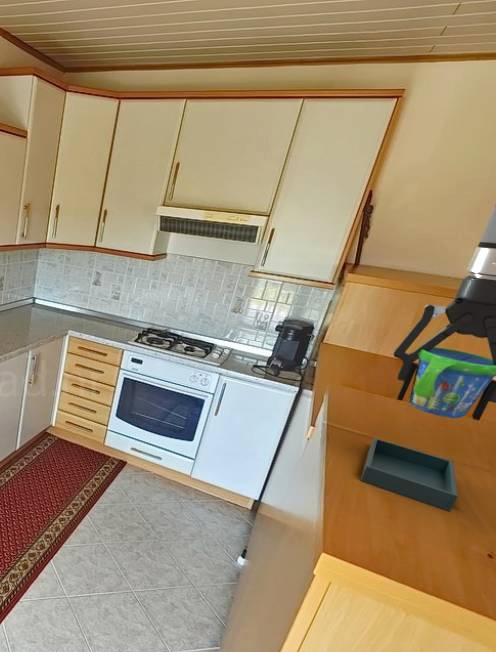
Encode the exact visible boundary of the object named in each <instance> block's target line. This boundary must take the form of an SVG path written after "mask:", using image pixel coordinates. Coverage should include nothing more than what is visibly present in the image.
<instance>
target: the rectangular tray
mask: <svg viewBox="0 0 496 652" xmlns="http://www.w3.org/2000/svg"><path fill="white" fill-rule="evenodd" d="M454 465H455V463H454V461H453V460H450V459H448V458H443V457H440V456H436V455H433V454H430V453H427V452H424V451H420V450H417V449H413V448H410V447H406V446H403V445H400V444H397V443H393V442H389V441H387V440H383V439H379V438H377V437H373V439H372V441H371V444H370V446H369V449H368V451H367V455H366V459H365V462H364V465H363V469H362V473H361V476H360V480H359V481H360V482H363V483H365V484H369V485H371V486H374V487H378V488H380V489H383V490H386V491H389V492H392V493H395V494H397V495H401V496H404V497H406V498H409V499H412V500H415V501H418V502H420V503H424V504H426V505H430V506H433V507H435V508H438V509H441V510H444V511H447V512H450V513H451V510H452V509H453V507H454V505H455V503H456V502H457V499H458V497H459V495H458V489H457V480H456V472H455V466H454Z"/></svg>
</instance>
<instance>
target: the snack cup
mask: <svg viewBox="0 0 496 652" xmlns="http://www.w3.org/2000/svg"><path fill="white" fill-rule="evenodd" d="M418 357H419V359H418V363H417V368H416V370H415V373H414V376H413V377H414V378H413V381H412V386H411V391H410V394H409V403H408V404H409V405H411V406H413V407H414V408H416V409H417V410H420V411H422V412H424V413H428V414H431V415H435V416H439V417H443V418H450V419H460V418H463V417H464V416H466V415H467V414H468V413H469V411H470V410H471V408H472V407H473V406H474V405H475V404H476V402H477V400H478V399H480V398H481V396H482V394H483V392H484V390H485V389H486V387H487V386H488V384H489V383H490V382H491V380H494V378H495V377H496V365H494V363H493V360H492V358H489V357H486V356H482V355H479V354H475V353H470V352H466V351H462V350H456V349H451V348H444V347H437V346H435V347H434V348H432V349H431V350H430V351H428V352H427V351H425V350H421V351H420V352H419V354H418Z"/></svg>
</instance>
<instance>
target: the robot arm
mask: <svg viewBox="0 0 496 652" xmlns="http://www.w3.org/2000/svg"><path fill="white" fill-rule="evenodd" d="M466 272H467V273H468V274H469V275H468V276H465V277H463V278H462V281H461V282H460V284H459V287H458V289H457V291H456V294H455V296H454V299H453V300H452V301H451V302H450V303H449V304H448V305H446V306H445V305H443V306H442V305H435V304H432V303H427V304H426V305H425V306H424V309H423V310H424V311H423V313H422V316H421V318H420V319H419V320H418V321H417V322H416V324H415V325H414V326H413V327H412V328H411V330H410V331H409V332H408V333H407V335H406V336H405V337H404V339H403V340H402V341H401V342H400V343H399V345H398V346H397V347H396V348H395V350H394V352H393V356H394V357H395V358H397V359H399V360H401V361H402V365H401V367H400V370H399V372H398V374H397V381H402V382H403V383H402V385H401V387H400V390H399V391H398V394H397V397H396V400H397V401H401V402H403V400H404V399H405V395H406V393H407V391H408V388H409V387H410V384H411V382H412V380H413V377H414V376H415V373H416V368H417V365H418V363H415V362H416V361H418V360H419V357H418V354H419V352H420V351H421V350H425V351H427V352H428V351H430V350H431V349H432V348H434V347H437V346H438V345H439V344H441V343H442V342H443V341H445V340H446V339H447V338H449V337H451V336H452V335H454V334H455V333H456V334H458V335H464V336H473V337H475V338H478V339H485V338H486V339H487V340H486V341H487V344H488V348H489V351H490V356H491V359H492V360H493V363H494V365H496V203H494V207H493V209H492V211H491V214H490V216H489V219H488V221H487V223H486V226H485V228H484V231H483V233H482V235H481V238H480V241H479V242H478V245H477V247H476V249H475V250H474V253H473V255H472V257H471V260H470V261H469V264H468V267H467V268H466ZM441 314H445V316H446V318H447V320H448V324H447V325H445V326H444V327H443V328H441V329H440V330H439V331H438V332H437V333H435V334H434V335H432V336H431V337H430V338H429V339H427V340H426V341H424V342H423V343H422V344H420V345H419V346H418V347H417V348H415V349H414V350H412V351H411V352H410V353H408V352H407V350H409V348H410V347H411V345H412V344H413V343H414V342H415V341H416V339H417V338H418V337H419V336H420V335H421V334H422V332H423V331H424V330H425V329H426V327H428V325H429V324H430V322H431V321H432V319H437V318H438V317H439V316H440V315H441ZM490 402H491V403H495V404H496V380H494V379H492V380H491V382H490V383H489V384H488V386H487V387H486V389H485V390H484V391H483V393H482V394H481V395H480V397H479V400H478V402H477V404H476V406H475V407H474V410H473V412H472V414H471V417H472V420H475V421H480V419H481V418H482V416H483V414H484V412H485V410H486V408H487V406H488V404H489V403H490Z"/></svg>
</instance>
